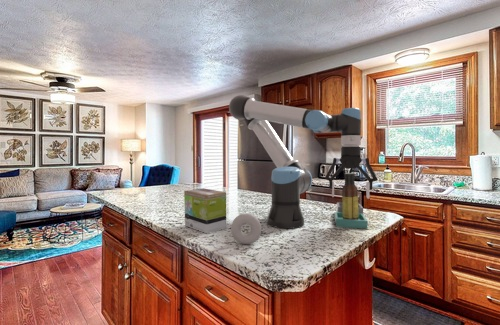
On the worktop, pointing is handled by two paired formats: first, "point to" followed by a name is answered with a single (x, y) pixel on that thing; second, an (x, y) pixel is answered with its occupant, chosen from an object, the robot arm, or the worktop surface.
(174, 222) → the worktop surface
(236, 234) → the donut
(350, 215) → the sauce bottle
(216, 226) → the tea box
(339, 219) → the tray
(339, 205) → the bottle holder
